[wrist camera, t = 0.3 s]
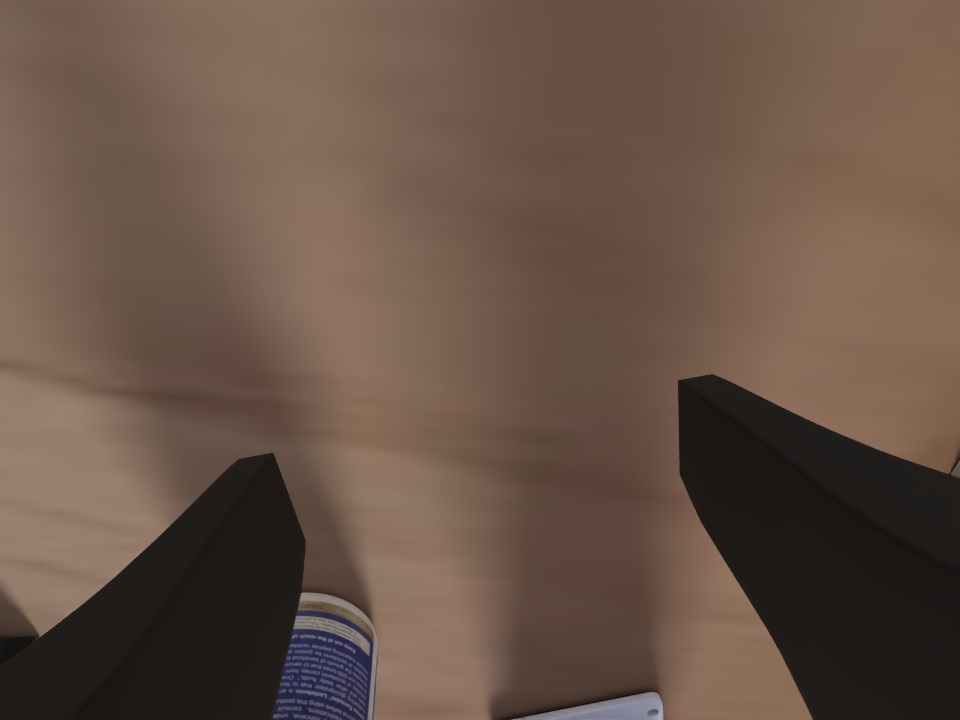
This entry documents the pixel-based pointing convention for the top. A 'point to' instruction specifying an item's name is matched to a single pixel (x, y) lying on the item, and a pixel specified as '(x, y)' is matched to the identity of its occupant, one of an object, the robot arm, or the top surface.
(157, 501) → the top surface
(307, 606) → the pill bottle
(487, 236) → the top surface
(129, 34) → the top surface
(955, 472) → the house plant
